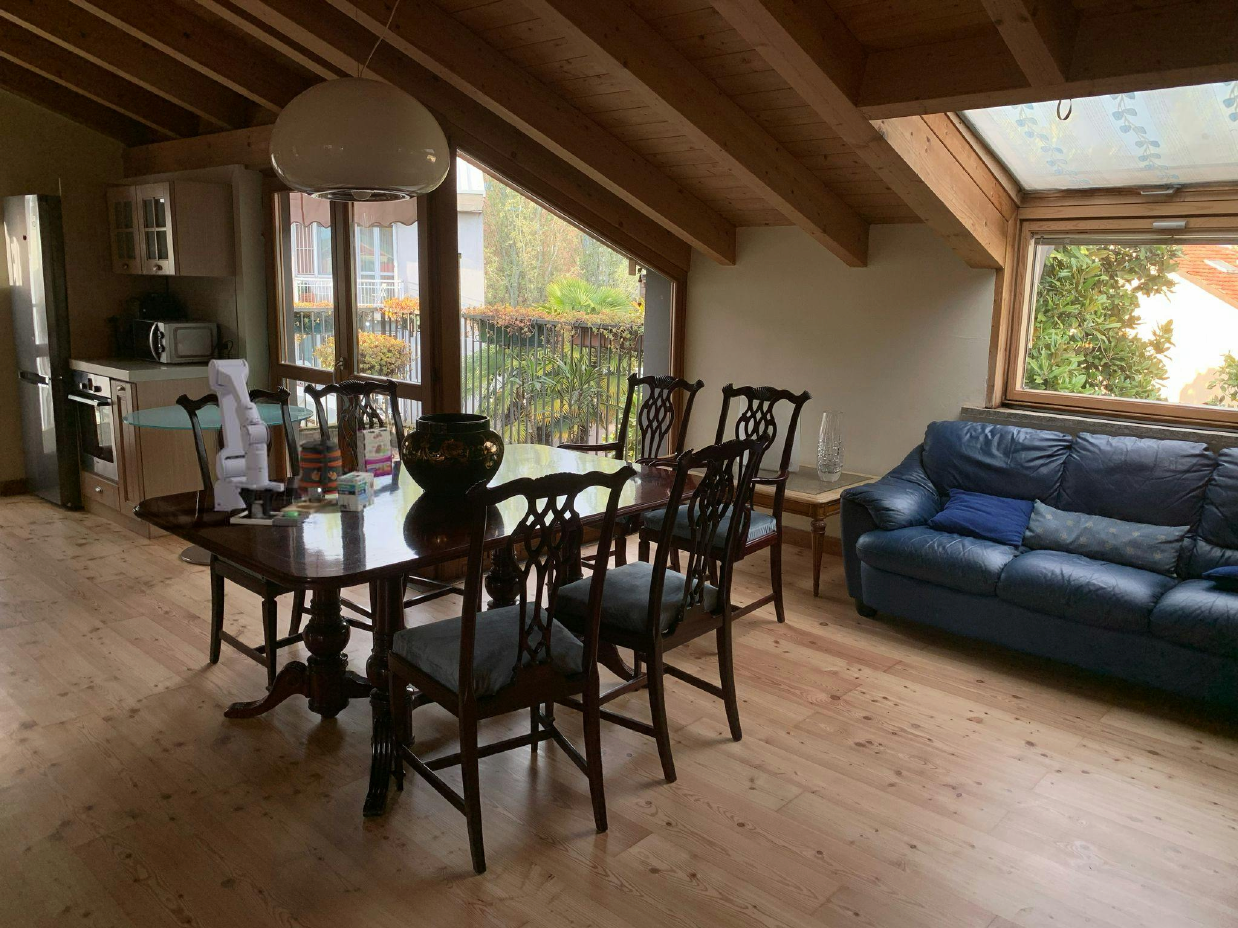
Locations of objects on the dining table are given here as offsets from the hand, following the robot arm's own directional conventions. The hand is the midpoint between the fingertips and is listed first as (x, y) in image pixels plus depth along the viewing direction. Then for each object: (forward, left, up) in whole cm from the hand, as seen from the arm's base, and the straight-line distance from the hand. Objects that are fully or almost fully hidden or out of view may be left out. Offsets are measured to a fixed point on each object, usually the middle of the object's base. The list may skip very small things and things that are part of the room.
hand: (259, 514), depth 260 cm
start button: (+10, -1, -1) cm, 10 cm away
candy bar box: (+7, +68, -2) cm, 68 cm away
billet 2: (+8, +18, -1) cm, 20 cm away
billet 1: (0, 0, -1) cm, 1 cm away
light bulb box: (+21, +18, -2) cm, 28 cm away
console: (+10, -1, -2) cm, 10 cm away
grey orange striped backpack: (+3, +35, -2) cm, 35 cm away
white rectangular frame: (0, 0, -2) cm, 2 cm away
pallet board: (+8, +14, -2) cm, 16 cm away
